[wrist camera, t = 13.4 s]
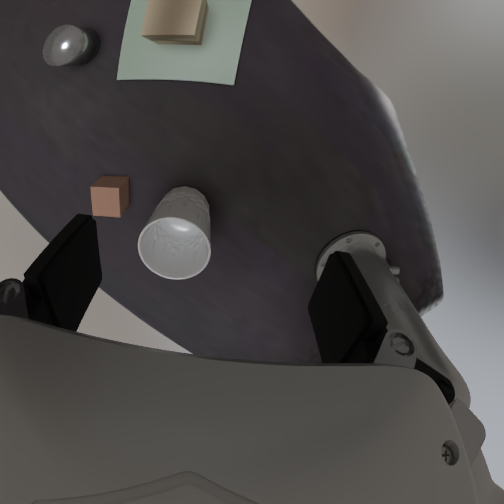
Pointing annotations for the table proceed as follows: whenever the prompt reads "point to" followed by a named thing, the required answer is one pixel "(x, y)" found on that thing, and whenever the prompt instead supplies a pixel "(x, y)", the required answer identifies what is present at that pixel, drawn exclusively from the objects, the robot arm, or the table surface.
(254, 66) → the table surface
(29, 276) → the robot arm
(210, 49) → the sage plate
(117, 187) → the terracotta cube
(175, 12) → the maple block
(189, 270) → the white cup
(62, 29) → the grey metal cylinder
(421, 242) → the table surface
